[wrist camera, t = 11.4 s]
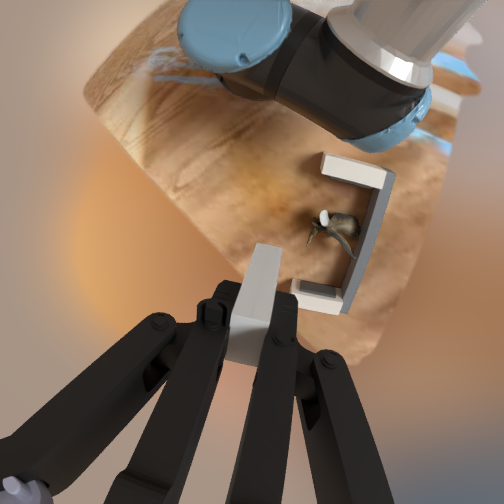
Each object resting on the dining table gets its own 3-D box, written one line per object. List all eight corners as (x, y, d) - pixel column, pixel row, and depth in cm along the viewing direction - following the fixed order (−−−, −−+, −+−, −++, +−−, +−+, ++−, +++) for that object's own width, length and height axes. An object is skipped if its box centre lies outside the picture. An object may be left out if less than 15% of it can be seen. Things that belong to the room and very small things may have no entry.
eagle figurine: (306, 250, 52) (353, 263, 50) (305, 242, 46) (359, 258, 43) (317, 211, 53) (363, 223, 51) (316, 198, 46) (369, 212, 44)
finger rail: (323, 151, 45) (325, 154, 41) (389, 169, 44) (398, 175, 40) (289, 290, 58) (287, 305, 54) (345, 302, 57) (347, 317, 53)
